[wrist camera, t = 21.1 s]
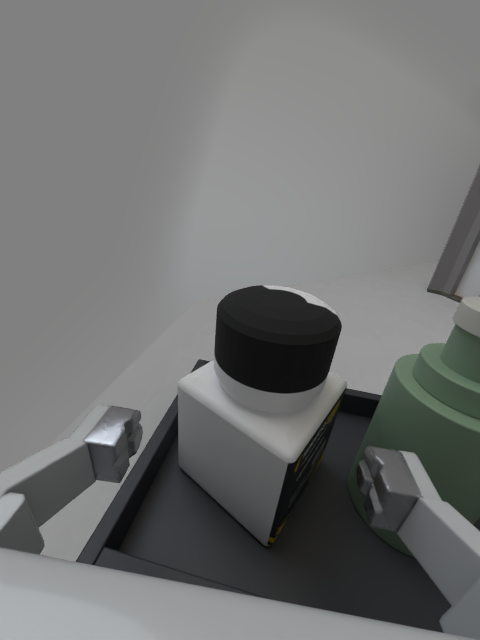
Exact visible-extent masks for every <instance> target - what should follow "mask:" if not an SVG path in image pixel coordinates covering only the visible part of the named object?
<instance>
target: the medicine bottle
mask: <svg viewBox="0 0 480 640" xmlns="http://www.w3.org/2000/svg"><path fill="white" fill-rule="evenodd" d="M341 327H342V325H341V322H340V320H339V318H338V316H337V314H336V312H335V311H334V310H333V309H332V308H331V307H330V306H329V305H327V304H326V303H324V302H323V301H321V300H319V299H318V298H316V297H314V296H312V295H310V294H308V293H305V292H303V291H300V290H296V289H292V288H287V287H281V286H269V285H268V286H267V285H261V286H251V287H247V288H243V289H239V290H236V291H234V292H231V293H229V294H228V295H227V296H225V297H224V298H223V299H222V300H221V301H220V303H219V304H218V307H217V319H216V335H215V352H214V360H212V361H211V362H209V363H207V364H205V365H204V366H202V367H200V368H199V369H197V370H195V371H194V372H192V373H190V374H189V375H187V376H185V377H183V378H182V379H180V380H179V382H178V453H179V466H180V468H181V469H182V470H183V471H185V472H186V473H187V474H188V475H189V476H190V477H191V478H192V479H193V480H194V481H195V482H196V483H197V484H198V485H200V486H201V487H202V488H203V489H204V490H205V491H206V492H207V493H208V494H209V495H210V496H211V497H212V498H214V499H215V500H216V501H217V502H218V503H219V504H220V505H221V506H222V507H223V508H224V509H225V510H226V511H227V512H229V513H230V514H231V515H232V516H233V517H234V518H235V519H236V520H237V521H238V522H239V523H240V524H241V525H243V526H244V527H245V528H246V529H247V530H248V531H249V532H250V533H251V534H252V535H253V536H254V537H255V538H256V539H258V540H259V541H260V542H261V543H262V544H263V545H265V546H270V545H271V544H272V543H273V542H274V541H275V539H276V537H277V535H278V534H279V532H280V530H281V529H282V527H283V525H284V524H285V522H286V520H287V518H288V517H289V515H290V513H291V512H292V510H293V508H294V506H295V505H296V503H297V501H298V500H299V498H300V496H301V494H302V493H303V491H304V489H305V488H306V486H307V484H308V482H309V481H310V479H311V477H312V476H313V474H314V472H315V470H316V469H317V467H318V465H319V464H320V462H321V460H322V458H323V455H324V452H325V449H326V446H327V443H328V440H329V437H330V434H331V431H332V428H333V426H334V423H335V420H336V417H337V414H338V411H339V408H340V405H341V402H342V399H343V396H344V393H345V390H346V387H347V381H346V380H345V379H344V378H342V377H340V376H338V375H336V374H334V373H331V372H329V369H330V366H331V363H332V359H333V356H334V352H335V349H336V346H337V342H338V339H339V335H340V332H341Z"/></svg>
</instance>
